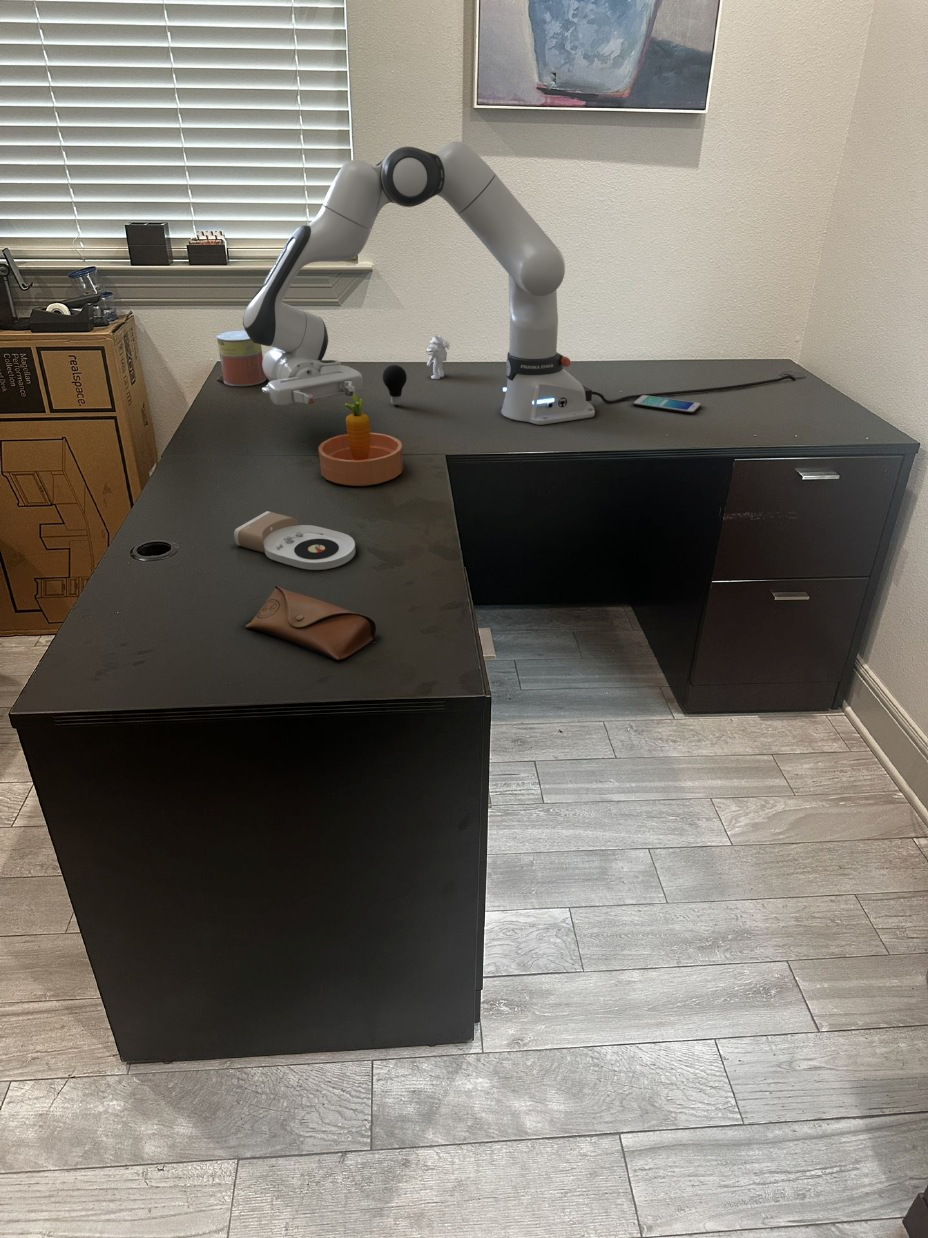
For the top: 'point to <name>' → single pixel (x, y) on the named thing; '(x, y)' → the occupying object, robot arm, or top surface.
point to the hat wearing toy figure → (437, 355)
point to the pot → (361, 461)
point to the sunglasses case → (313, 624)
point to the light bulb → (395, 382)
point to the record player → (295, 542)
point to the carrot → (358, 430)
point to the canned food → (240, 359)
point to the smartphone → (667, 404)
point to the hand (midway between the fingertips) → (331, 395)
